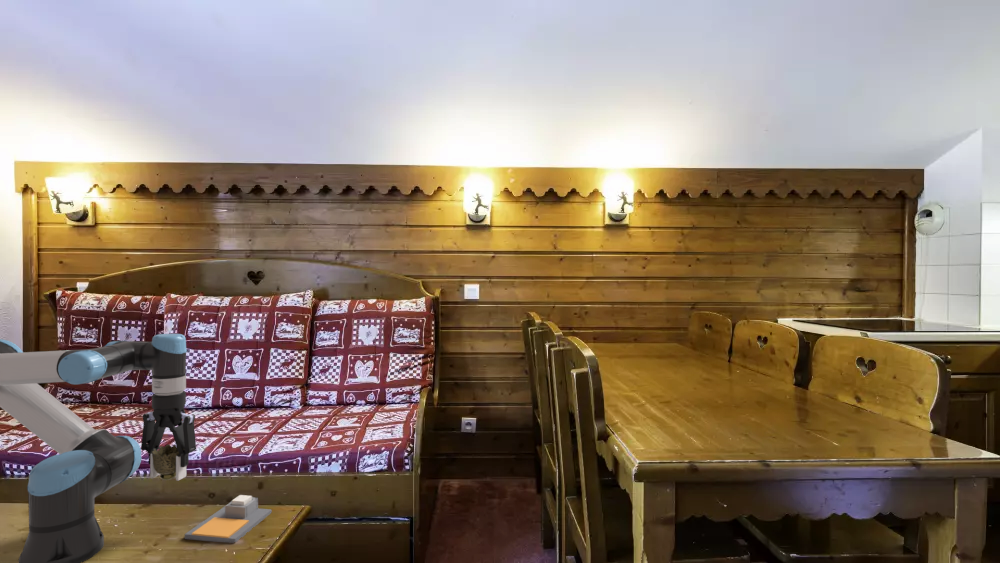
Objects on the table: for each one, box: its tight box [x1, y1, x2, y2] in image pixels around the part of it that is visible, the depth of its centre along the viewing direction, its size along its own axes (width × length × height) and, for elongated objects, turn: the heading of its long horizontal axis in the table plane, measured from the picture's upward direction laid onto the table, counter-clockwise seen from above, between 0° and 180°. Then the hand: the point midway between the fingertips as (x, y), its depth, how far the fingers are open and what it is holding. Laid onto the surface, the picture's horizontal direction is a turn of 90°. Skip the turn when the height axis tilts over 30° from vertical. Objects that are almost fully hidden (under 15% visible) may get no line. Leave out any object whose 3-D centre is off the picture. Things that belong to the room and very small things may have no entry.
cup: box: [152, 443, 179, 481], centre depth 129 cm, size 8×7×8 cm
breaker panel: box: [184, 496, 272, 544], centre depth 128 cm, size 14×15×4 cm
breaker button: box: [231, 494, 253, 506], centre depth 133 cm, size 4×3×3 cm
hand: (168, 477), depth 129 cm, fingers closed on cup, 7 cm apart
